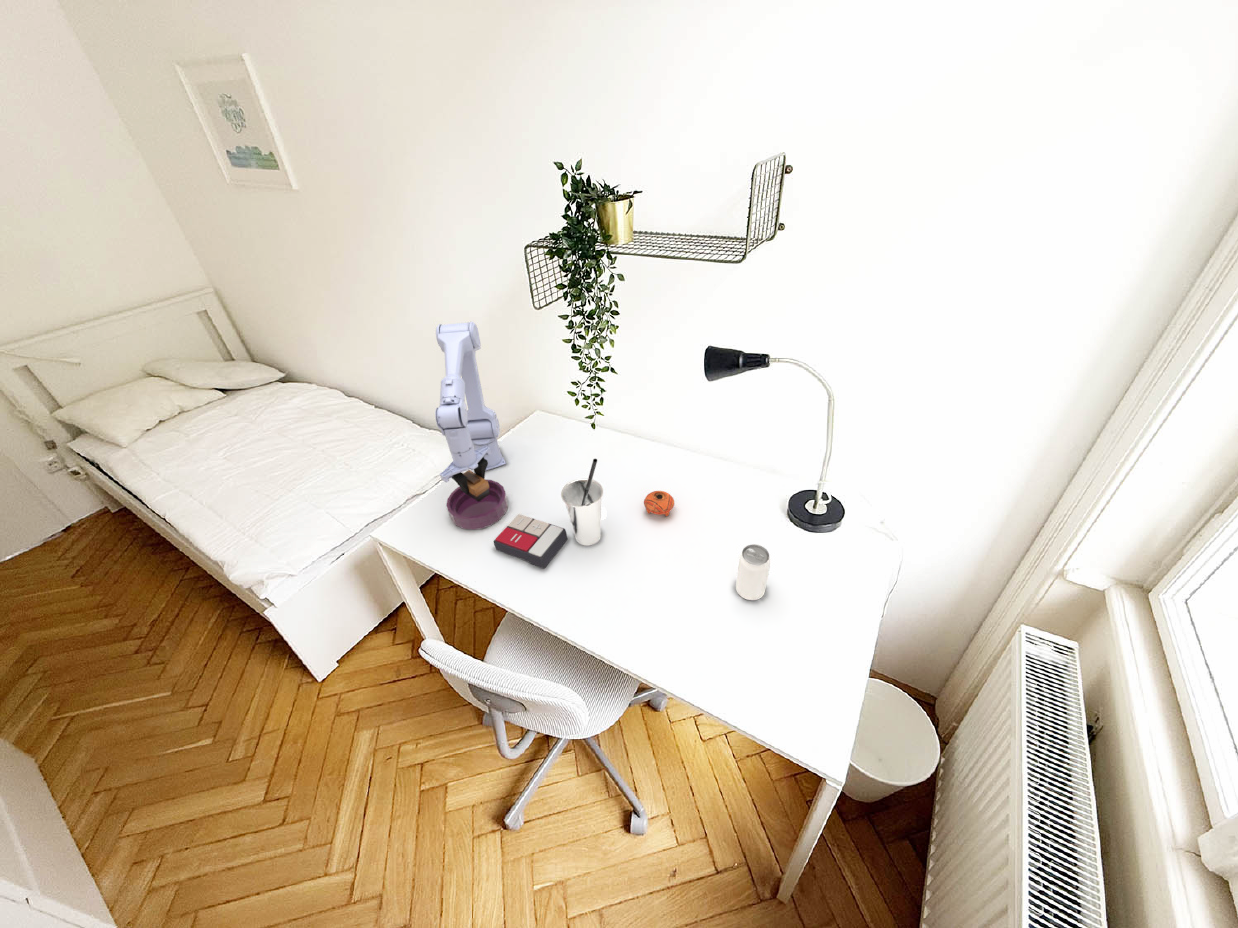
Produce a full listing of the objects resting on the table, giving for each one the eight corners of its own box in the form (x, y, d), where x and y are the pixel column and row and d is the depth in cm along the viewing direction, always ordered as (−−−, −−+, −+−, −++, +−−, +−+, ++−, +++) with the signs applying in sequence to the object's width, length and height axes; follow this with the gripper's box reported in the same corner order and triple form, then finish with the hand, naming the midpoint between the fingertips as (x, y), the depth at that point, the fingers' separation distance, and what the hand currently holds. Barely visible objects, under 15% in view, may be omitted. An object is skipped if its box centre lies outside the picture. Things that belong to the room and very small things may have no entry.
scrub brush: (459, 491, 142) (454, 475, 138) (472, 482, 144) (468, 466, 141) (478, 503, 138) (473, 487, 134) (491, 494, 140) (486, 478, 137)
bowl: (446, 502, 148) (441, 490, 145) (499, 484, 153) (496, 472, 150) (457, 538, 137) (452, 526, 134) (515, 518, 142) (511, 506, 139)
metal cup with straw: (607, 556, 129) (596, 461, 111) (563, 551, 131) (545, 457, 113) (615, 524, 138) (607, 431, 119) (574, 520, 140) (559, 428, 121)
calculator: (518, 511, 138) (565, 526, 132) (521, 523, 141) (568, 538, 134) (491, 539, 131) (540, 556, 125) (495, 551, 134) (544, 569, 127)
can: (744, 573, 123) (749, 538, 115) (769, 587, 119) (776, 551, 112) (730, 592, 119) (734, 556, 111) (756, 606, 116) (762, 570, 108)
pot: (645, 498, 144) (650, 480, 140) (672, 507, 144) (678, 489, 139) (638, 518, 138) (643, 499, 134) (666, 527, 137) (673, 509, 133)
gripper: (446, 467, 125) (460, 508, 134) (493, 438, 133) (504, 478, 142) (429, 456, 129) (444, 497, 137) (476, 428, 137) (487, 469, 146)
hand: (473, 487), depth 140 cm, fingers closed on scrub brush, 4 cm apart
